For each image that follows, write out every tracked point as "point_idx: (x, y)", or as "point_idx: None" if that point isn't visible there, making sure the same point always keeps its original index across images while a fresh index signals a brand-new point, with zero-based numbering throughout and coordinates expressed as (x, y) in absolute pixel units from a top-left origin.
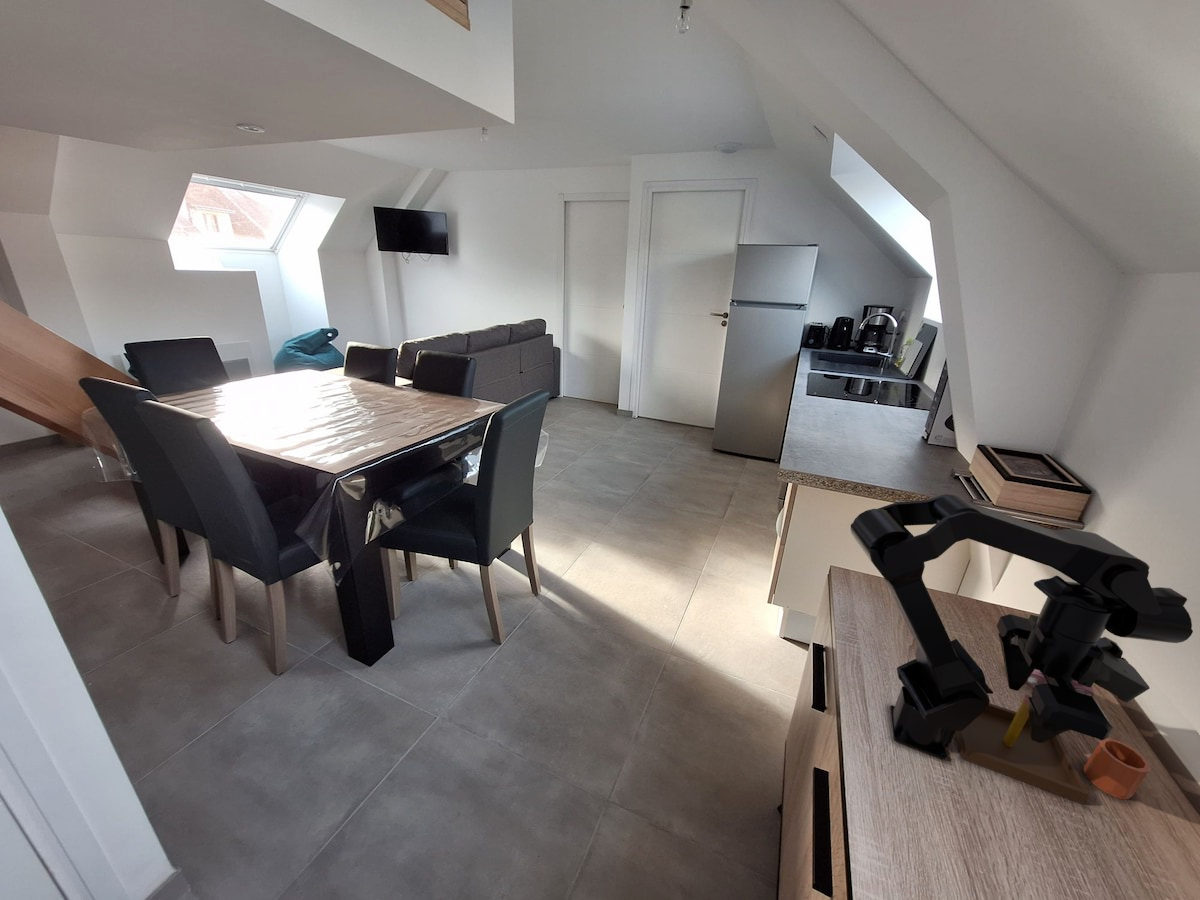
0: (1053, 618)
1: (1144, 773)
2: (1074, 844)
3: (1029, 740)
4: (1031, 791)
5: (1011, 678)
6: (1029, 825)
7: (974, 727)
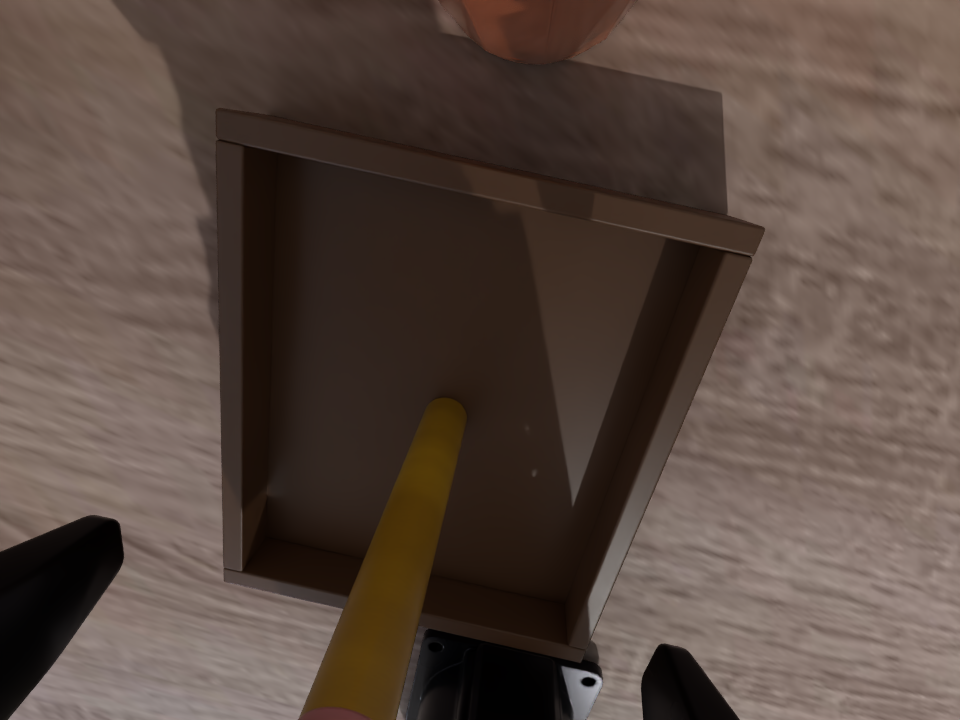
0: None
1: None
2: (930, 391)
3: (383, 292)
4: (684, 426)
5: (20, 681)
6: (845, 518)
7: None
